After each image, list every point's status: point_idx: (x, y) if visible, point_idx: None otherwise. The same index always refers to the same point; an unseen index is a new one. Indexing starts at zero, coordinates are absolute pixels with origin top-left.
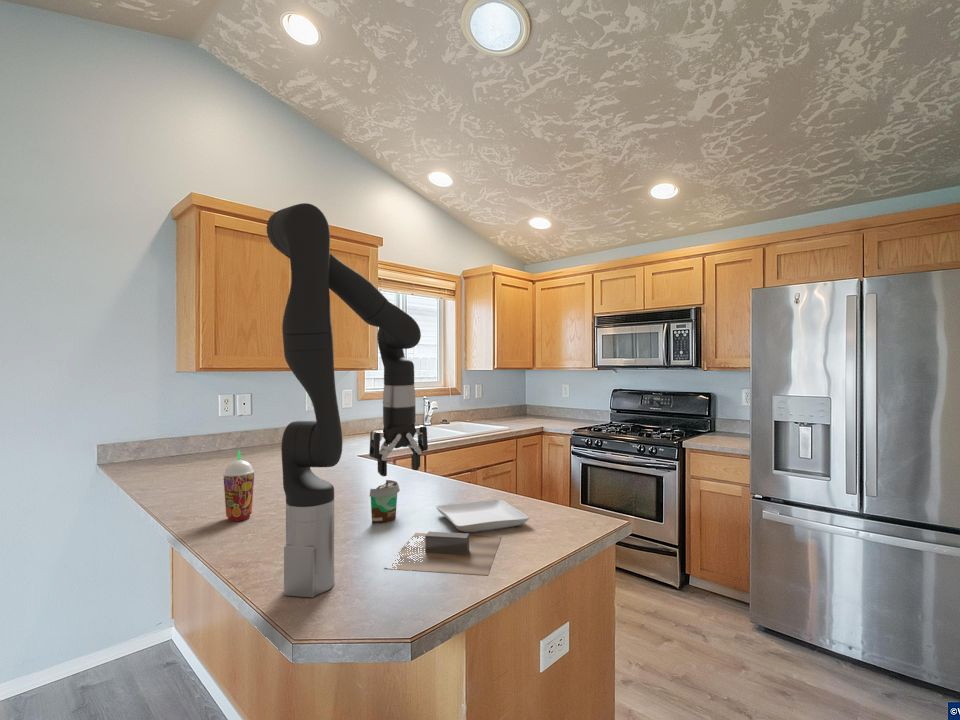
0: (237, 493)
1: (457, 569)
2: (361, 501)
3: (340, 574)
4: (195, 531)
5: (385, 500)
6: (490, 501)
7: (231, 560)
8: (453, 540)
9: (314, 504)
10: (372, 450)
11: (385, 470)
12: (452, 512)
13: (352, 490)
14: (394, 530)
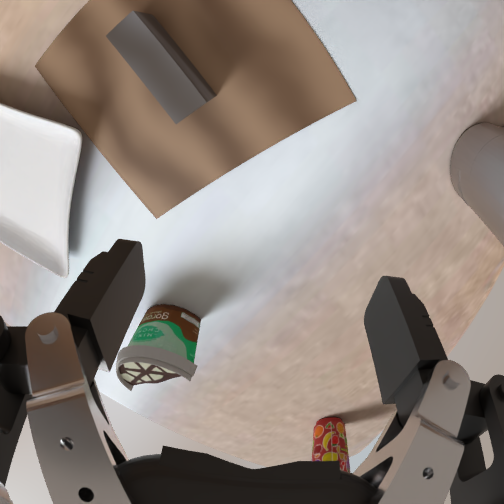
0: (341, 450)
1: None
2: (162, 386)
3: (427, 159)
4: (385, 413)
5: (165, 342)
6: None
7: (446, 332)
8: (158, 36)
9: None
10: (470, 453)
11: (406, 299)
12: (48, 245)
13: (154, 411)
14: (185, 263)
